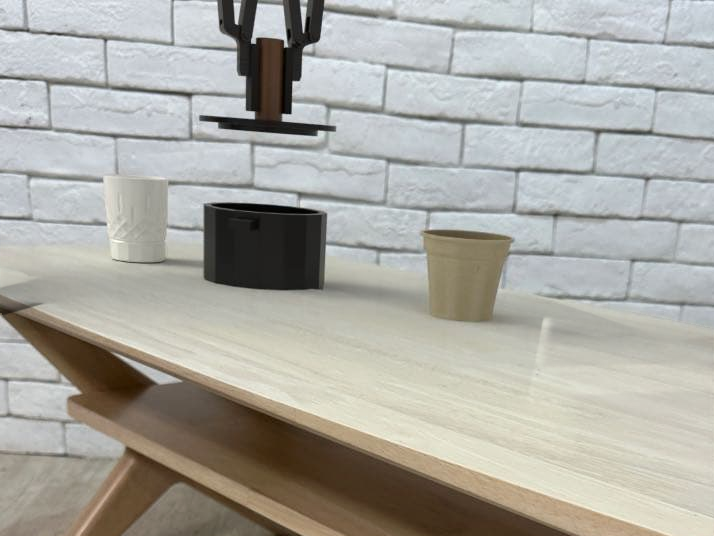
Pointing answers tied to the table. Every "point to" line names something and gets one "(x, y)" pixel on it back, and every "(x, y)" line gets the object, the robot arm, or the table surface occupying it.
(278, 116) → the pot lid
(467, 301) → the flower pot
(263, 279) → the pot
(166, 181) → the white cup
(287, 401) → the table surface
